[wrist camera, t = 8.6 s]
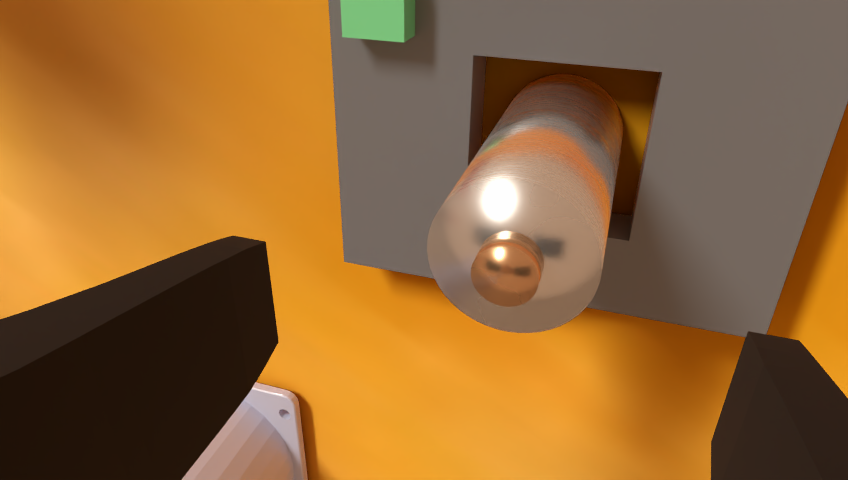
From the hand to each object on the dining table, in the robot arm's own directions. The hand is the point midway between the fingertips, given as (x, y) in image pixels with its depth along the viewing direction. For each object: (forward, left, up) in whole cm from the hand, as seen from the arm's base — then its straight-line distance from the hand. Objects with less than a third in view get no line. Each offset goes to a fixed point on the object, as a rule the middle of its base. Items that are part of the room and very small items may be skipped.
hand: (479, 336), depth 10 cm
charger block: (0, 0, -9) cm, 9 cm away
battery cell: (0, 0, -9) cm, 9 cm away
